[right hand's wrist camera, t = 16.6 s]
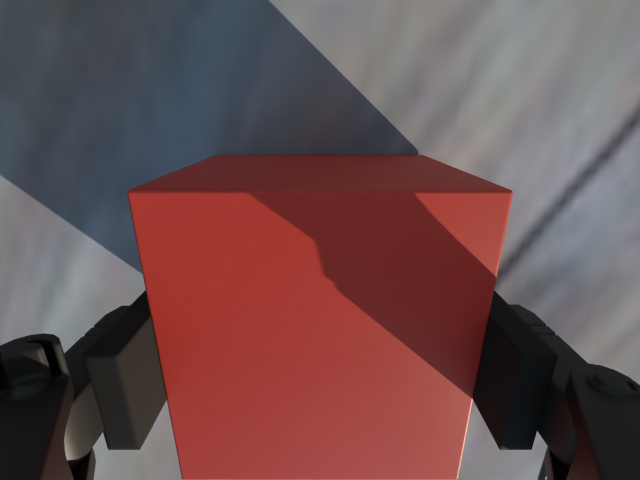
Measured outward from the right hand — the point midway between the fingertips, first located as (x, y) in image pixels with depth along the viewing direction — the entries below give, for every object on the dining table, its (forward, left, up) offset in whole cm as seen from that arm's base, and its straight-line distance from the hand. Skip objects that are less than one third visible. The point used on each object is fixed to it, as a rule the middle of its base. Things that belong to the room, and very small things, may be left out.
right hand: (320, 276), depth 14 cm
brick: (0, 0, -2) cm, 2 cm away
